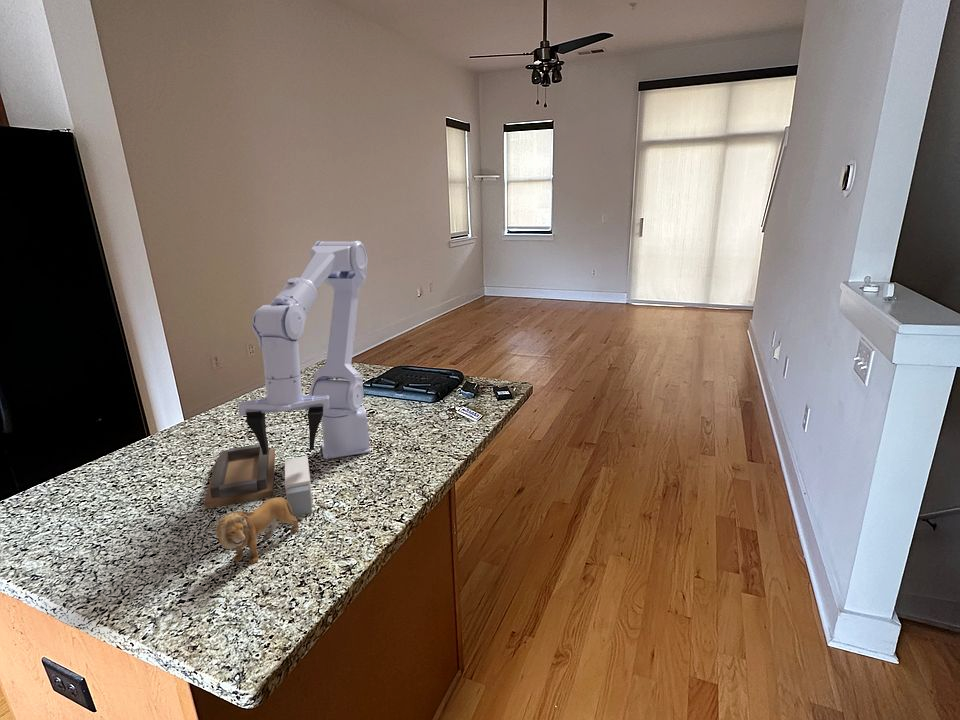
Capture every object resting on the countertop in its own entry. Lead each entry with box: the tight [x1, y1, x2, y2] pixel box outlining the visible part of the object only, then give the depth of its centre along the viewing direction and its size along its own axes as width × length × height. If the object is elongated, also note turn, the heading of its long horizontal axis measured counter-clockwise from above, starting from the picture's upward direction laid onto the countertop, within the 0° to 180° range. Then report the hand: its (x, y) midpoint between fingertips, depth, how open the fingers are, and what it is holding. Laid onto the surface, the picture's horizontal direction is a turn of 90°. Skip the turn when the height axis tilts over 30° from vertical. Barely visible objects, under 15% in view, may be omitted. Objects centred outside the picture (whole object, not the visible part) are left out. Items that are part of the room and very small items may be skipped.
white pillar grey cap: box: [284, 455, 314, 517], centre depth 91 cm, size 4×12×5 cm, turn 20°
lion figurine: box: [215, 496, 300, 564], centre depth 77 cm, size 15×5×9 cm, turn 163°
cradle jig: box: [203, 443, 276, 510], centre depth 98 cm, size 11×18×3 cm, turn 20°
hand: (289, 450), depth 90 cm, fingers open, 7 cm apart
